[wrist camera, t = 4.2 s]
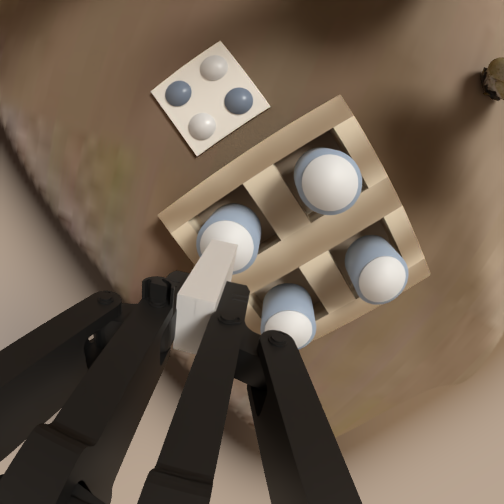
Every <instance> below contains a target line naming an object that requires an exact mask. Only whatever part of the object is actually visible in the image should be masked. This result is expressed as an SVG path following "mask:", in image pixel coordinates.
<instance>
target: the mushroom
mask: <svg viewBox="0 0 504 504" xmlns="http://www.w3.org/2000/svg"><path fill="white" fill-rule="evenodd" d="M481 81H482V85H483V88H484V90H485V93H483V94H484V95H488V96H489V97H490V98H491V99H494V100H497V101H498V100H500V99H503V100H504V58H497V59H494V60H493V61H492V62H491V63H490V64H489V66H488V68H485V67H484V69H483V71H482V74H481Z"/></svg>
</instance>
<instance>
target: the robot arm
mask: <svg viewBox="0 0 504 504" xmlns="http://www.w3.org/2000/svg"><path fill="white" fill-rule="evenodd" d="M237 247H238V245H237V244H233V243H228V242H223V241H218V240H214V239H212V240H211V242H210V243H209V245H208V246H207V248H206V249H205V251H204V253H203V254H202V256H201V257H200V259H199V260H198V262H197V263H196V265H195V267H194V268H193V270H192V271H191V273H190V274H189V273H185V272H181V271H177V270H176V271H174V272H172V273H170V274H169V275H168V276H167V277H166V278H164V277H158V276H156V277H148V278H146V279H144V280H143V281H142V299H141V301H140V302H139V303H138V304H127V303H122V299H121V297H120V295H118V294H117V293H115V292H112V291H99V292H97V293H94V294H92V295H91V296H89V297H88V298H86V299H84V300H83V301H81V302H79V303H77V304H75V305H74V306H72V307H71V308H69V309H67V310H65V311H64V312H62V313H60V314H59V315H57V316H56V317H54V318H52V319H51V320H49V321H47V322H46V323H44V324H42V325H41V326H39V327H37V328H36V329H34V330H33V331H31V332H30V333H28V334H26V335H25V336H23V337H21V338H20V339H18V340H17V341H15V342H14V343H12V344H10V345H9V346H7V347H6V348H4V349H3V350H1V351H0V461H2V460H3V459H4V458H5V457H7V456H8V455H9V454H10V453H11V452H12V451H13V450H15V449H16V448H17V447H18V446H19V445H20V444H21V443H22V442H24V440H26V441H25V442H24V444H23V445H22V447H21V448H20V450H19V451H18V453H17V454H16V456H15V458H14V459H13V461H12V462H11V464H10V465H9V467H8V469H7V470H6V472H5V474H2V475H0V504H110V502H111V498H112V486H113V483H114V481H115V478H116V475H117V473H118V471H119V469H120V466H121V464H122V462H123V459H124V457H125V455H126V452H127V450H128V448H129V445H130V443H131V441H132V438H133V436H134V434H135V432H136V429H137V427H138V425H139V422H140V420H141V418H142V416H143V414H144V411H145V409H146V407H147V405H148V402H149V400H150V398H151V396H152V394H153V391H154V389H155V387H156V385H157V383H158V380H159V378H160V376H161V374H162V372H163V369H164V367H165V365H166V363H167V361H168V359H169V357H170V347H171V344H172V342H173V340H174V344H173V349H177V350H180V351H184V352H188V353H192V354H196V356H195V359H194V362H193V364H192V367H191V370H190V372H189V375H188V378H187V381H186V383H185V386H184V389H183V392H182V394H181V397H180V400H179V403H178V405H177V408H176V411H175V413H174V416H173V419H172V422H171V425H170V427H169V430H168V433H167V436H166V438H165V441H164V444H163V447H162V450H161V453H160V455H159V458H158V461H157V464H156V466H155V468H154V469H152V470H151V471H150V472H149V474H148V476H147V478H146V481H145V483H144V486H143V489H142V492H141V495H140V498H139V500H138V503H137V504H209V502H210V497H211V492H212V486H213V479H214V474H215V469H216V464H217V459H218V455H219V449H220V445H221V439H222V434H223V429H224V424H225V420H226V414H227V410H228V404H229V399H230V394H231V389H232V384H233V379H234V378H235V379H238V380H240V381H242V382H244V383H246V384H247V391H248V396H249V401H250V406H251V411H252V416H253V421H254V426H255V431H256V435H257V440H258V445H259V449H260V454H261V459H262V464H263V468H264V473H265V477H266V482H267V486H268V490H269V495H270V499H271V504H362V502H361V500H360V497H359V495H358V492H357V490H356V487H355V485H354V483H353V480H352V478H351V475H350V473H349V470H348V468H347V466H346V464H345V461H344V458H343V456H342V454H341V451H340V449H339V446H338V444H337V441H336V439H335V437H334V434H333V432H332V429H331V427H330V425H329V422H328V420H327V417H326V415H325V413H324V410H323V408H322V405H321V403H320V401H319V398H318V396H317V393H316V391H315V389H314V386H313V384H312V381H311V379H310V377H309V374H308V372H307V369H306V367H305V365H304V362H303V360H302V358H301V355H300V353H299V350H298V348H297V346H296V343H295V341H294V340H293V338H292V337H291V336H290V335H288V334H287V333H284V332H282V331H278V330H267V331H265V332H263V333H262V334H261V335H260V334H257V333H255V332H253V331H252V330H250V329H249V328H248V327H247V325H246V323H245V316H246V310H247V305H248V300H249V295H250V290H249V288H248V287H247V285H243V284H238V283H233V282H231V279H232V274H233V269H234V263H235V258H236V253H237ZM91 335H94V338H93V339H92V340H88V338H89V337H90V336H91ZM61 408H62V409H61ZM60 409H61V410H60ZM59 410H60V412H59V413H58V415H57V416H56V418H55V419H54V421H53V422H52V423H50V424H44V423H45V422H46V421H47V420H48V419H50V418H51V417H52V416H53V415H54V414H55V413H56V412H58V411H59Z"/></svg>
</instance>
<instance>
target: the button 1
mask: <svg viewBox="0 0 504 504" xmlns="http://www.w3.org/2000/svg"><path fill="white" fill-rule="evenodd" d="M260 238H261V223H260V221H259V218H258V217H257V215H256V214H255V213H254V212H253V211H252V210H251V209H250V208H248V207H246V206H244V205H241V204H236V203H232V204H226V205H223V206H221V207H219V208H218V209H217V210H216V211H215V212H214V213H213V214H212V215H211V216H210V217H209V219H208V220H207V221H206V222H205V224H204V225H203V226H202V227H201V229H200V231H199V232H198V235H197V239H196V248H197V252H198V255H199V257H201V256H202V254H203V253H204V251H205V249H206V248H207V246H208V245H209V243H210V242H211V240H212V239H214V240H218V241H223V242H228V243H233V244H237V245H238V247H237V253H236V258H235V263H234V269H233V274H232V275H234V274H238V273H241V272H243V271H245V270H247V269H248V268H249V267H250V266H251V265H252V264H253V263H254V261H255V259H256V257H257V254H258V249H259V244H260Z"/></svg>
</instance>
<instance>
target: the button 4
mask: <svg viewBox="0 0 504 504" xmlns="http://www.w3.org/2000/svg"><path fill="white" fill-rule="evenodd" d="M345 267H346V270H347V272H348V275H349V277H350V279H351V281H352V283H353V285H354V288H355V290H356V292H357V294H358V296H359V297H360V298H361V299H362V300H363V301H365V302H367V303H370V304H375V305H379V304H385V303H388V302H390V301H392V300H393V299H395V298H396V297H397V296H399V295H400V293H401V292H402V291H403V290H404V288H405V286H406V284H407V281H408V267H407V264H406V262H405V261H404V259H403V258H402V257H401V256H400V255H399V254H398V253H397V252H396V250H395V249H394V248H393V247H392V246H391V245H390V244H389V243H388V242H387V241H386V240H385V239H384V238H382V237H380V236H377V235H366V236H362V237H360V238H358V239H357V240H355V241H354V242H353V243H352V244H351V245H350V247H349V248H348V250H347V252H346V255H345Z"/></svg>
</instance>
